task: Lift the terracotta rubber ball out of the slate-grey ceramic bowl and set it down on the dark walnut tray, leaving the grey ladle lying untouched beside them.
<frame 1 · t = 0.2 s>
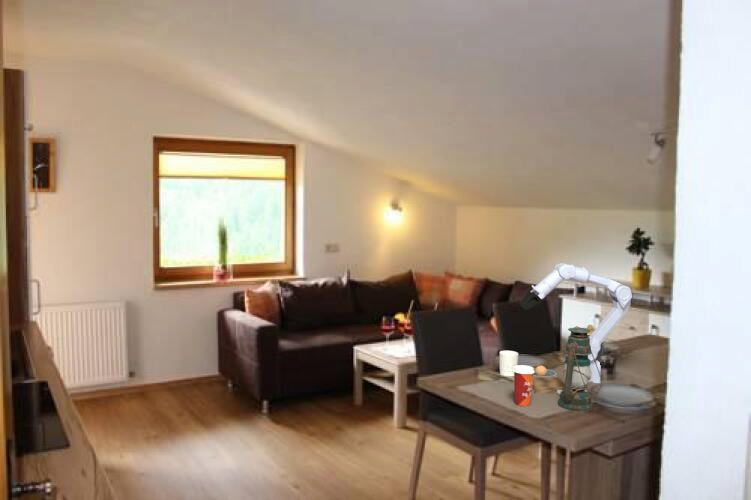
hand: (522, 307, 275), 31 cm above the table, tool tilted 45°, fingers open, 7 cm apart
paper cup: (522, 404, 248), on the table
canister: (588, 362, 309), on the table
lantern: (577, 406, 247), on the table
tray: (547, 388, 268), on the table
white cup: (507, 376, 284), on the table
ladle: (572, 393, 262), on the table, touching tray
ball: (540, 377, 280), point 1 cm above the table, touching bowl
bowl: (540, 378, 281), on the table
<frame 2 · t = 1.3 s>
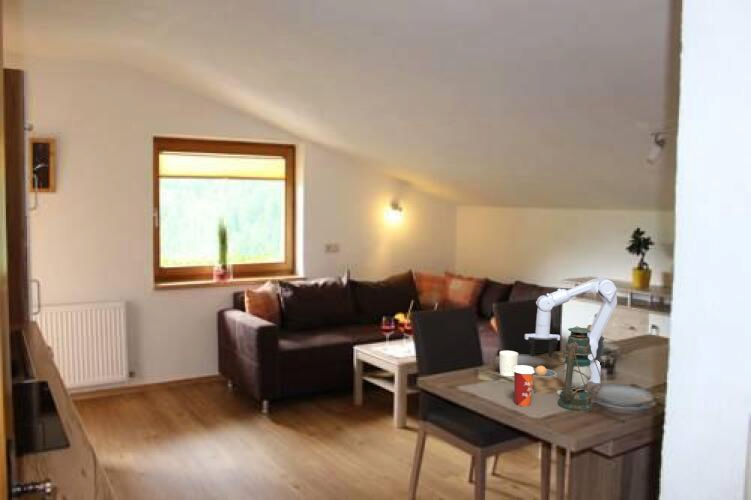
hand: (541, 356, 280), 10 cm above the table, tool pointing down, fingers open, 7 cm apart
ladle: (572, 394, 261), on the table, touching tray
everything else where it was.
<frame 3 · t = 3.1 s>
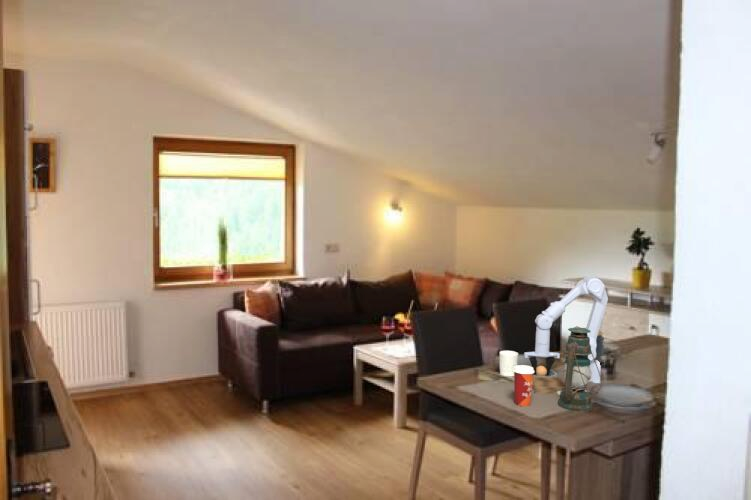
hand: (540, 374, 280), 2 cm above the table, tool pointing down, fingers closed on ball, 5 cm apart
ladle: (572, 394, 261), on the table, tilted 13°, touching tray
ball: (540, 377, 280), point 1 cm above the table, touching bowl, gripper
everything else where it was.
when the fingers open (3 cm above the table, at t = 6.7 s): ball stays where it is, resting on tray.
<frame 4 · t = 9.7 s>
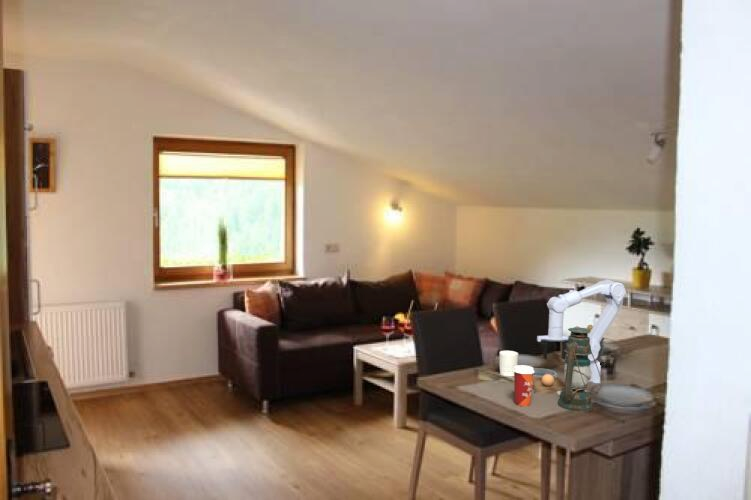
hand: (554, 358, 276), 10 cm above the table, tool pointing down, fingers open, 7 cm apart
ball: (547, 385, 268), point 1 cm above the table, touching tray
everything else where it was.
at the end: ball inside the target area on the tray (0.1 cm from its centre), point 1.0 cm above the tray's base; the gripper is holding nothing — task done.
